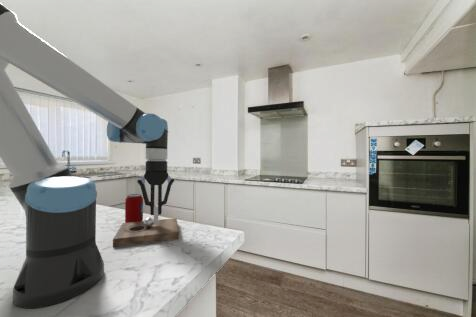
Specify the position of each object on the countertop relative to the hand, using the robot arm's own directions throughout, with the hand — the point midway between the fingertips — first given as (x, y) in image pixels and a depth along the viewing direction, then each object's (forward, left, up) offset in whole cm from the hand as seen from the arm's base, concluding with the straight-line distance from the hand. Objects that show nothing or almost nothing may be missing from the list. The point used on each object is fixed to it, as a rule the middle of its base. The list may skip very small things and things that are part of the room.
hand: (155, 223), depth 74 cm
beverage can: (+15, +9, -4) cm, 18 cm away
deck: (0, +2, -4) cm, 4 cm away
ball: (0, +3, 0) cm, 3 cm away
